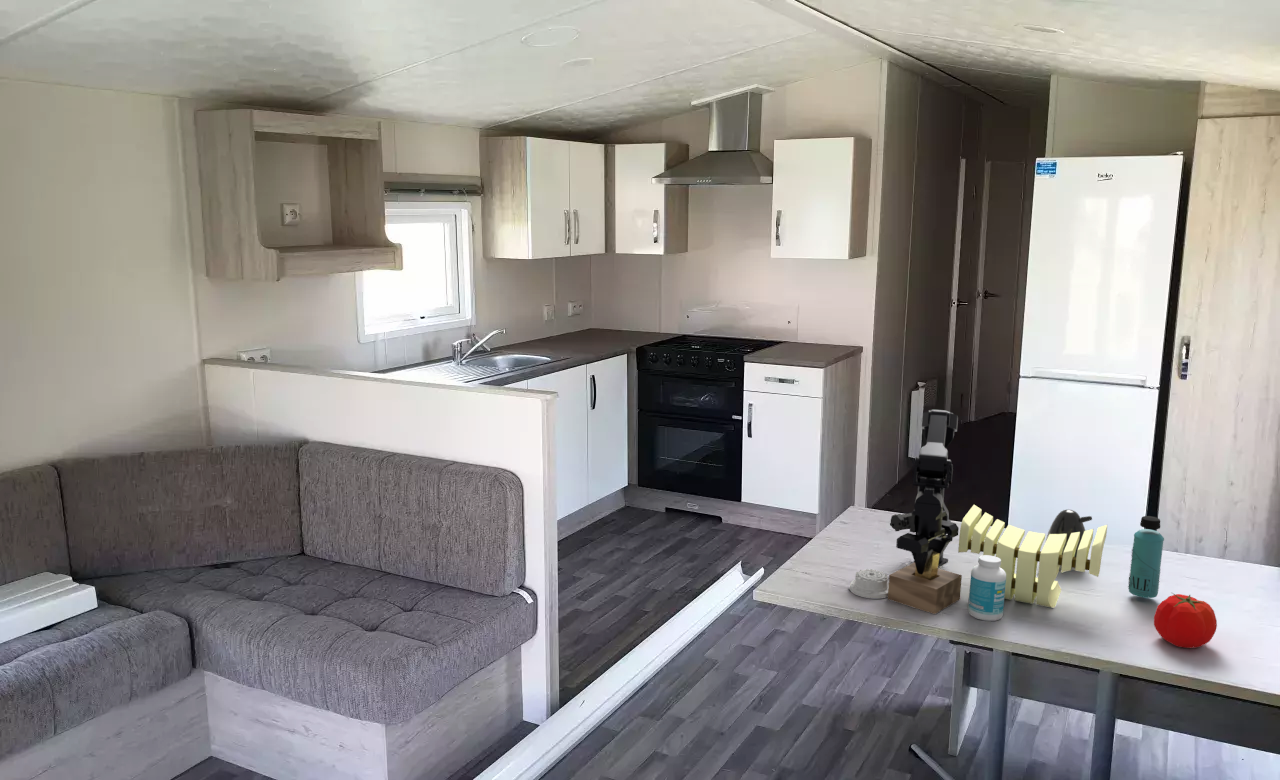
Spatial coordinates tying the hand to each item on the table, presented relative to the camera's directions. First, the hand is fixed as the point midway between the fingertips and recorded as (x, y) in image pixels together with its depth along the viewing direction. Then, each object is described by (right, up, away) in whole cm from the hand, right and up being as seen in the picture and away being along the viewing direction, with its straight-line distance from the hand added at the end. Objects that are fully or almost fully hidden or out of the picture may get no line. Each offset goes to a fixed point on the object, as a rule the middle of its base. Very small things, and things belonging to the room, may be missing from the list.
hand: (925, 570), depth 225 cm
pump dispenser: (+42, -3, +22) cm, 48 cm away
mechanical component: (-11, -6, +6) cm, 14 cm away
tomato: (+48, -12, -21) cm, 54 cm away
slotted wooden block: (0, -7, +1) cm, 7 cm away
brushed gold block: (0, -5, +1) cm, 5 cm away
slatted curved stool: (+25, -7, +4) cm, 27 cm away
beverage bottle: (+52, -7, +2) cm, 52 cm away
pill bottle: (+11, -9, -7) cm, 16 cm away
